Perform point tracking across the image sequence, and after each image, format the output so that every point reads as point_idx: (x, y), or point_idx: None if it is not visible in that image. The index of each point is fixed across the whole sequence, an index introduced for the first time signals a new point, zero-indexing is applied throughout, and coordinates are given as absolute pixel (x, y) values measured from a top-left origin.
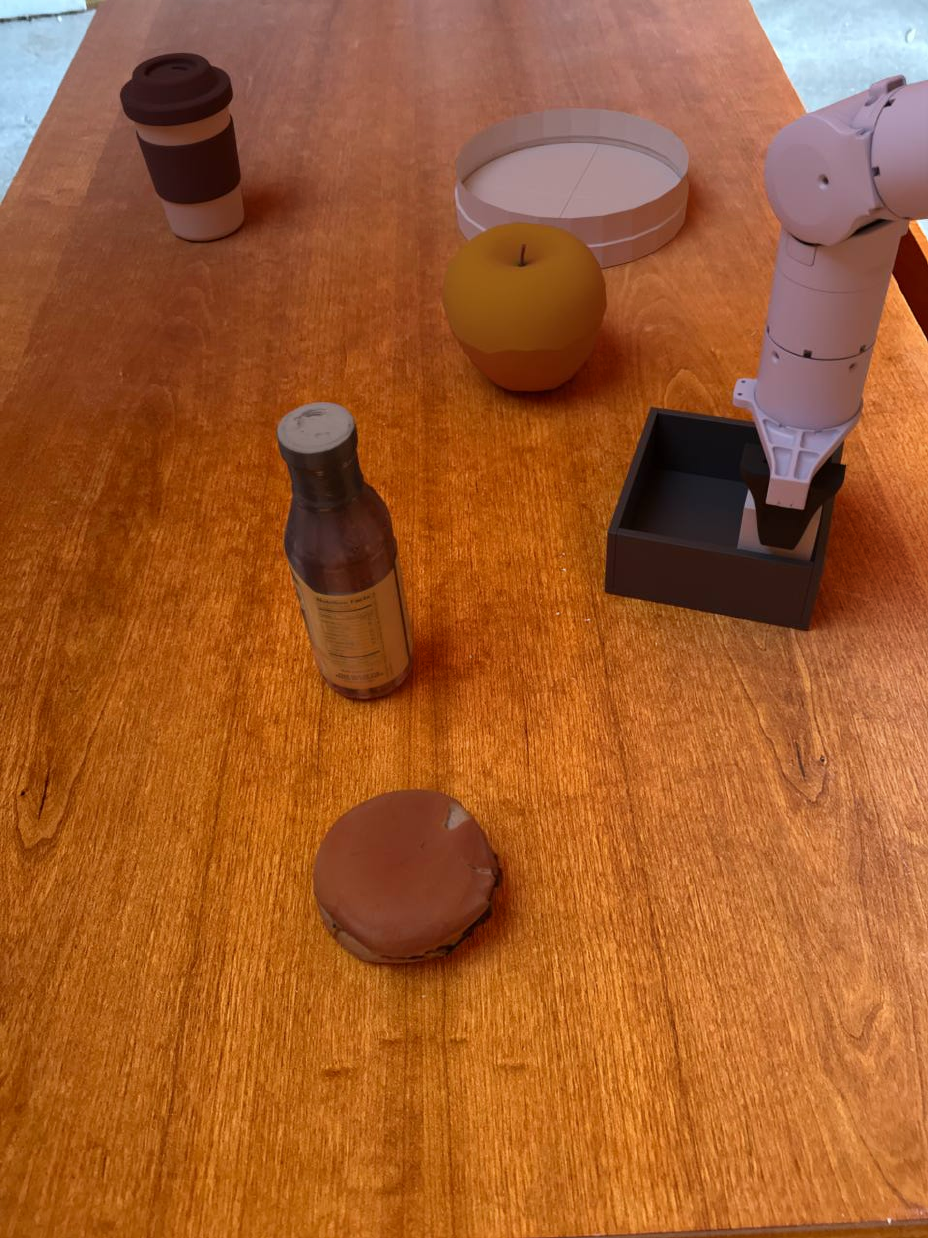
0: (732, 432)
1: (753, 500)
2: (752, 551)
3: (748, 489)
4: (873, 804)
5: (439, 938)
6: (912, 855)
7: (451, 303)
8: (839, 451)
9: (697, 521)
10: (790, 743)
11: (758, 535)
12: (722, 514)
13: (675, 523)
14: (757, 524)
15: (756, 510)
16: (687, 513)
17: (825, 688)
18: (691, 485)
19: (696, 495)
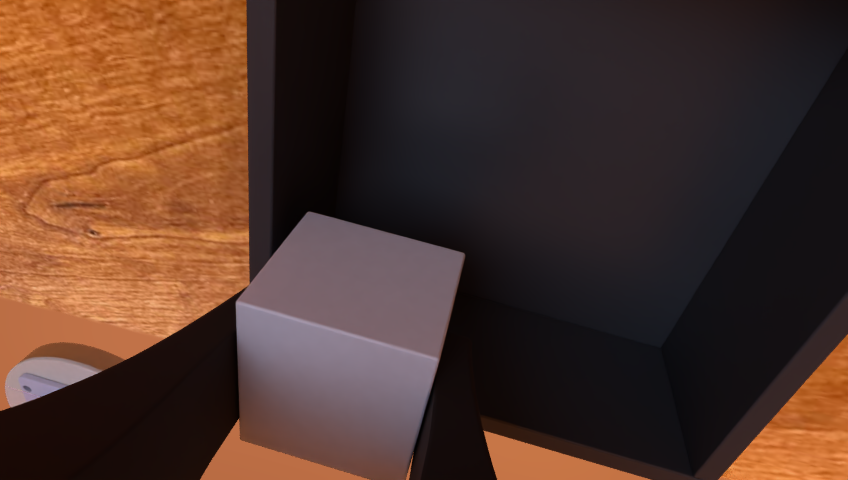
0: (837, 263)
1: (271, 328)
2: (269, 250)
3: (324, 323)
4: (58, 275)
5: None
6: (15, 296)
7: None
8: (641, 471)
9: (608, 93)
10: (100, 197)
11: (244, 289)
12: (627, 155)
13: (607, 34)
14: (208, 312)
15: (148, 348)
16: (644, 69)
17: (214, 259)
18: (765, 86)
19: (717, 97)
